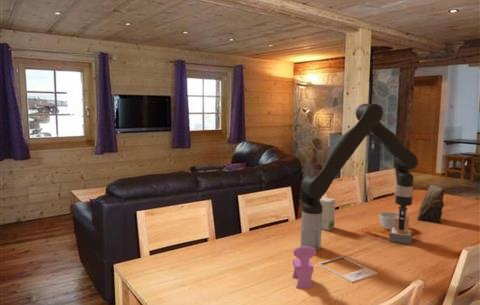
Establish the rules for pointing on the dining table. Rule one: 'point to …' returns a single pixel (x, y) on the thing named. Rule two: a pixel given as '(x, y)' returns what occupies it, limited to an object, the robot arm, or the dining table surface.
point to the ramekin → (388, 219)
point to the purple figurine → (303, 266)
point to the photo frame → (353, 275)
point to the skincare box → (328, 213)
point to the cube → (404, 224)
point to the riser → (400, 236)
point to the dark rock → (432, 205)
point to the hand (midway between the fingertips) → (401, 227)
